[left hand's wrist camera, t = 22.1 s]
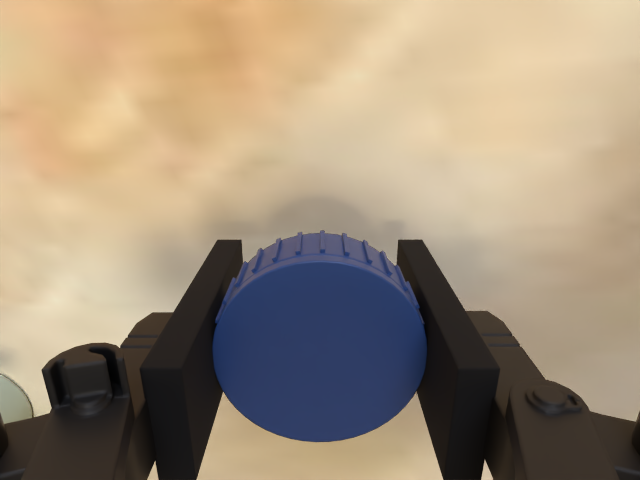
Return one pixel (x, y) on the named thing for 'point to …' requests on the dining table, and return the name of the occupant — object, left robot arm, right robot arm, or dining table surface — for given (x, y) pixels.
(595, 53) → the dining table surface
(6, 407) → the pale green cylinder
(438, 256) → the dining table surface
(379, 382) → the lid
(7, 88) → the dining table surface
